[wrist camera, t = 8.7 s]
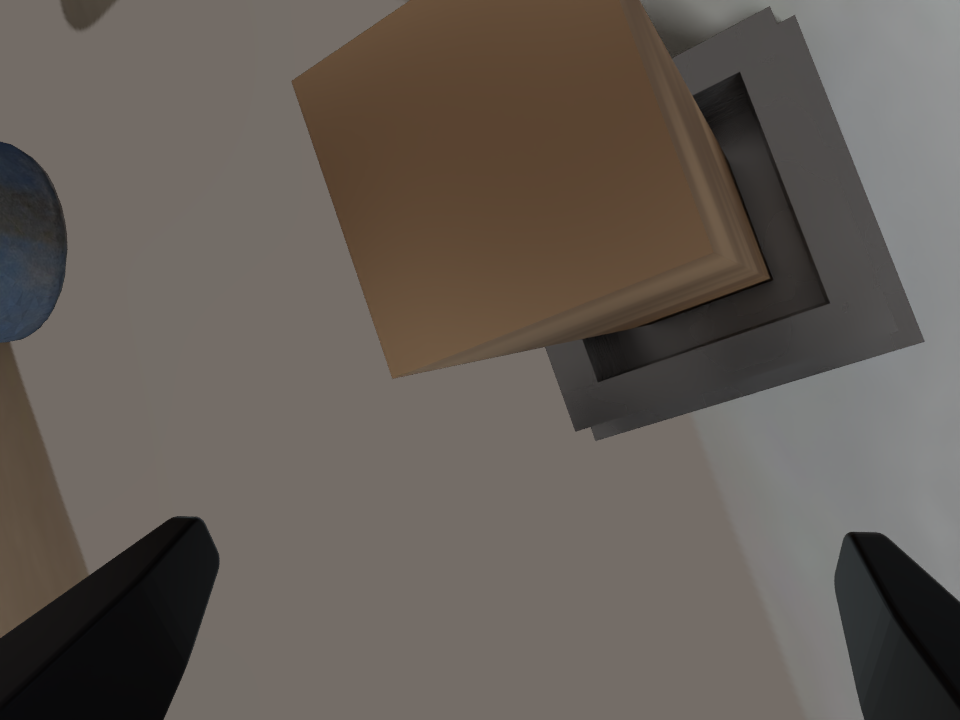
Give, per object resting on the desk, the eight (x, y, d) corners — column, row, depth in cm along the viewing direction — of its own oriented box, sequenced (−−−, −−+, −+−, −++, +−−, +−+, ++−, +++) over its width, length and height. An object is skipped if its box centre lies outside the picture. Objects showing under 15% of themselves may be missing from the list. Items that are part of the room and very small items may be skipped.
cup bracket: (918, 339, 18) (952, 352, 14) (604, 434, 22) (559, 466, 18) (795, 28, 19) (793, -46, 15) (509, 174, 23) (445, 148, 18)
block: (773, 279, 19) (714, 252, 6) (650, 324, 20) (392, 378, 7) (727, 160, 19) (577, -114, 6) (609, 213, 20) (290, 80, 8)
